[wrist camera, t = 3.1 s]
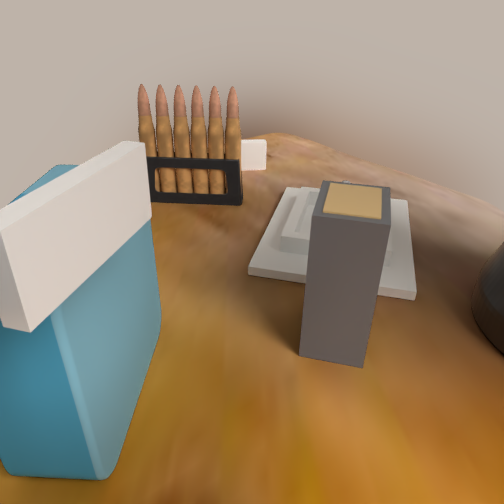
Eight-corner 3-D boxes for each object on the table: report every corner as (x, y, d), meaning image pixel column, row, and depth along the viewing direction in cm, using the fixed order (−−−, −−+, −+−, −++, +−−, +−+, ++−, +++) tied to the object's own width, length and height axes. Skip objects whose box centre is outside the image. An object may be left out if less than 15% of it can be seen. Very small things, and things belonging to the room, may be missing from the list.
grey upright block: (365, 317, 31) (390, 186, 26) (362, 368, 27) (391, 223, 22) (309, 308, 32) (323, 178, 27) (298, 355, 28) (312, 213, 23)
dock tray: (405, 207, 47) (412, 176, 45) (414, 300, 33) (424, 261, 31) (286, 193, 50) (288, 163, 48) (248, 274, 36) (248, 237, 34)
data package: (99, 322, 31) (63, 155, 24) (163, 324, 31) (144, 158, 24) (11, 491, 20) (-89, 277, 14) (107, 496, 20) (49, 282, 14)
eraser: (227, 167, 57) (227, 140, 55) (264, 167, 58) (265, 139, 56) (227, 171, 56) (227, 143, 54) (265, 170, 57) (266, 142, 55)
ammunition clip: (243, 198, 49) (243, 84, 43) (241, 205, 47) (241, 88, 41) (147, 195, 49) (134, 82, 43) (143, 201, 48) (128, 85, 42)
